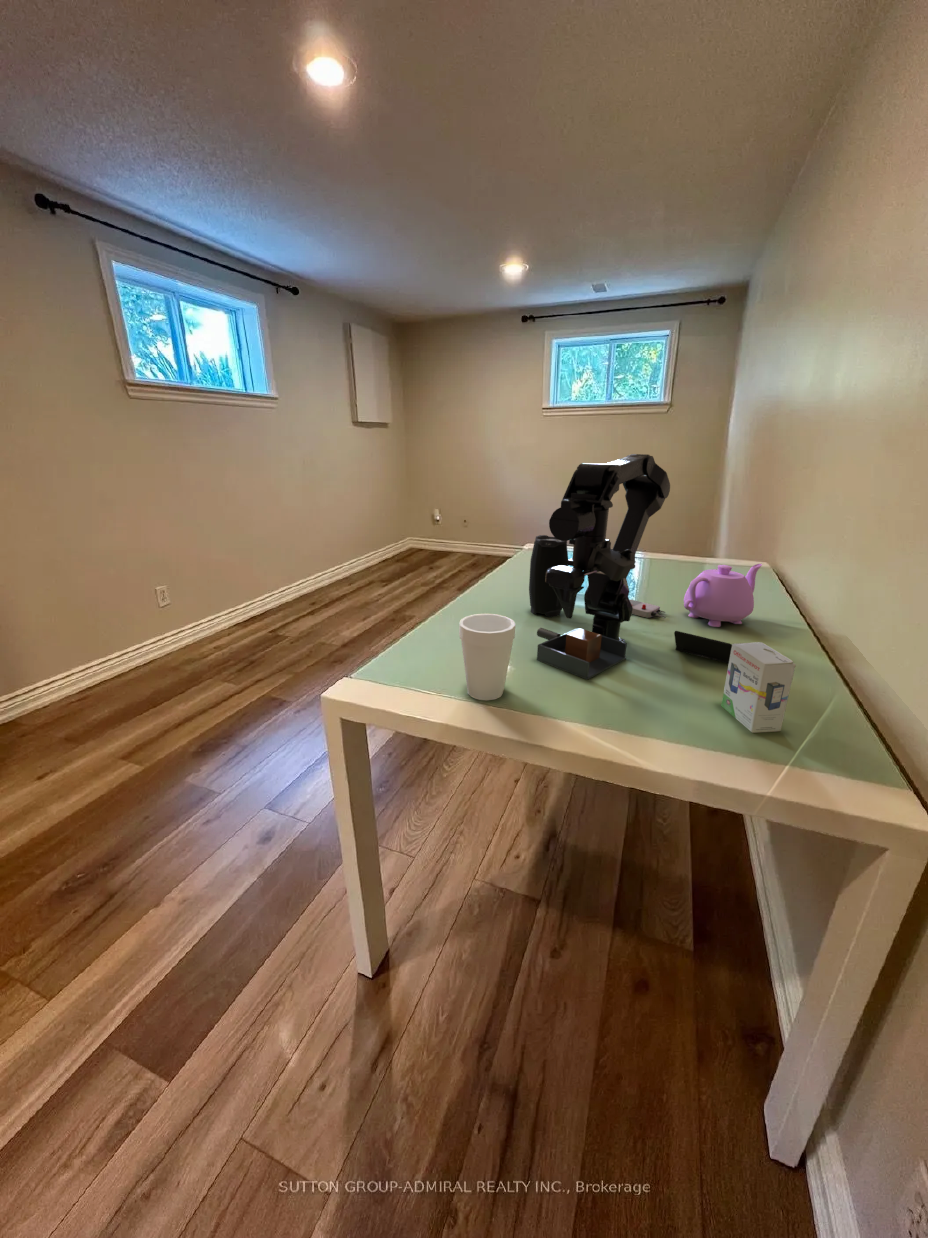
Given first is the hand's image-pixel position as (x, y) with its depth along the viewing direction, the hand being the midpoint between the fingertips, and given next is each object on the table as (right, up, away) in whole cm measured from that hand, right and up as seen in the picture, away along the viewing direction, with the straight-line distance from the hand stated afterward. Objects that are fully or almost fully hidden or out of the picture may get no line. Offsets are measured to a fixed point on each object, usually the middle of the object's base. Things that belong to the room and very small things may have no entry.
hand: (582, 612), depth 97 cm
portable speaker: (-2, 0, +30) cm, 30 cm away
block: (+1, -9, +3) cm, 10 cm away
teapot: (+41, -1, +27) cm, 49 cm away
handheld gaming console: (+27, -9, +6) cm, 29 cm away
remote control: (+23, 0, +32) cm, 39 cm away
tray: (-1, -9, +5) cm, 10 cm away
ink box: (+23, -18, -17) cm, 34 cm away
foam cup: (-20, -14, -10) cm, 26 cm away
